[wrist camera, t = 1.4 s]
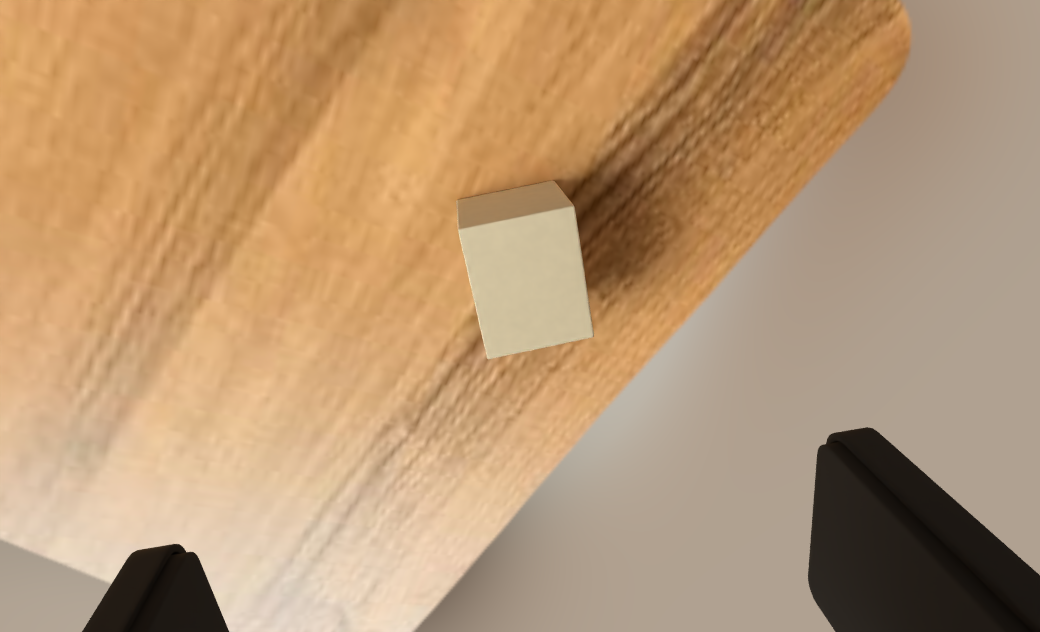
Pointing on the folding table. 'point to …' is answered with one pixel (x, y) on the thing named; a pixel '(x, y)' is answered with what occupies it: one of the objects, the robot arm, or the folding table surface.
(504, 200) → the beige block
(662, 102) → the folding table surface
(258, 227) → the folding table surface
